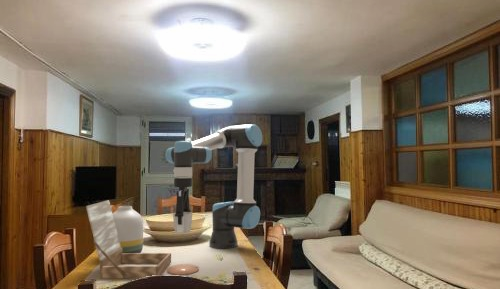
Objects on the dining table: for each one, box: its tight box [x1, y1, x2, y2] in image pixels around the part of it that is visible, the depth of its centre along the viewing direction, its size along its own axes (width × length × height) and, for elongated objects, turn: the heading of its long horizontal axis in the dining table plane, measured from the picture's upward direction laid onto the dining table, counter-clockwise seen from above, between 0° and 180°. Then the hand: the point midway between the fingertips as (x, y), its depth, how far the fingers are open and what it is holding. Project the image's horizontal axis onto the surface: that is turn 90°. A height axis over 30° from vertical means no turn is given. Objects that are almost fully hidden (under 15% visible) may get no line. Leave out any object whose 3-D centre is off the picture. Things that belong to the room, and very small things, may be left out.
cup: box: [172, 212, 193, 234], centre depth 160 cm, size 11×8×8 cm
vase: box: [112, 205, 144, 253], centre depth 182 cm, size 17×17×24 cm
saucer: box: [166, 263, 200, 276], centre depth 159 cm, size 13×13×1 cm
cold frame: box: [85, 199, 172, 279], centre depth 159 cm, size 29×23×28 cm
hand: (183, 230), depth 160 cm, fingers closed on cup, 11 cm apart
